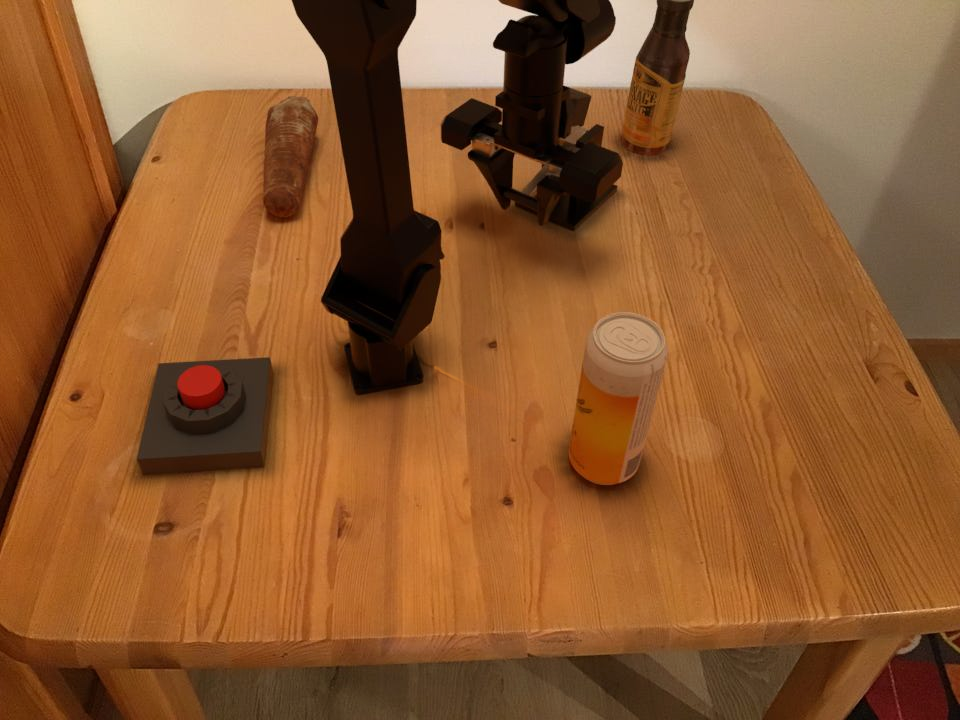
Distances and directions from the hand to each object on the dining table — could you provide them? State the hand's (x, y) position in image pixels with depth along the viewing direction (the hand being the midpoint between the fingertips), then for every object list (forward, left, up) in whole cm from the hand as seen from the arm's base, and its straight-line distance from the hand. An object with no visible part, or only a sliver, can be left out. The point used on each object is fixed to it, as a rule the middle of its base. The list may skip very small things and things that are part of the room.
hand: (524, 215), depth 92 cm
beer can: (-31, +3, -4) cm, 31 cm away
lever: (+3, -4, +2) cm, 6 cm away
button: (-18, +35, 0) cm, 39 cm away
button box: (-18, +35, -3) cm, 39 cm away
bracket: (+6, -7, -3) cm, 10 cm away
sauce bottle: (+15, -21, -4) cm, 26 cm away
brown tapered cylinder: (+19, +23, -4) cm, 30 cm away
